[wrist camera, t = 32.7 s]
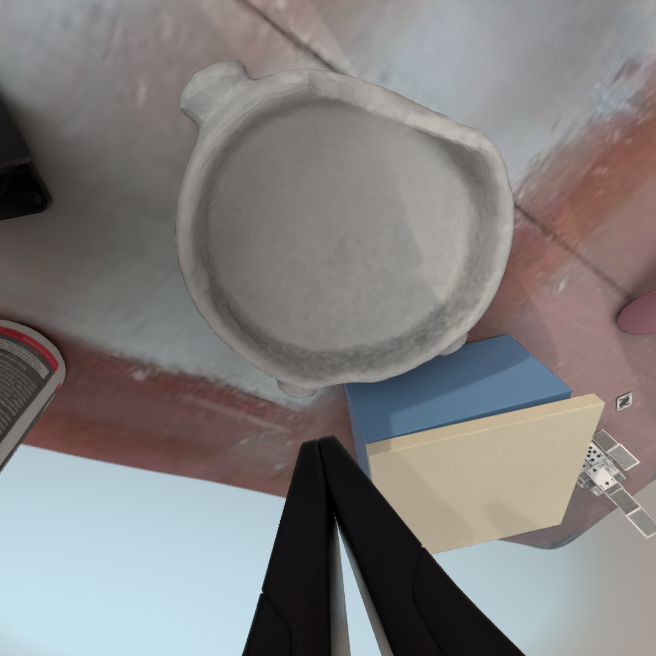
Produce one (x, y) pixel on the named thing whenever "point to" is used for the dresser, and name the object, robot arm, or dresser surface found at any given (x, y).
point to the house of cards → (614, 475)
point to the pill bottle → (25, 383)
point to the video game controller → (639, 315)
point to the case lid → (486, 473)
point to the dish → (336, 225)
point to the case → (450, 392)
